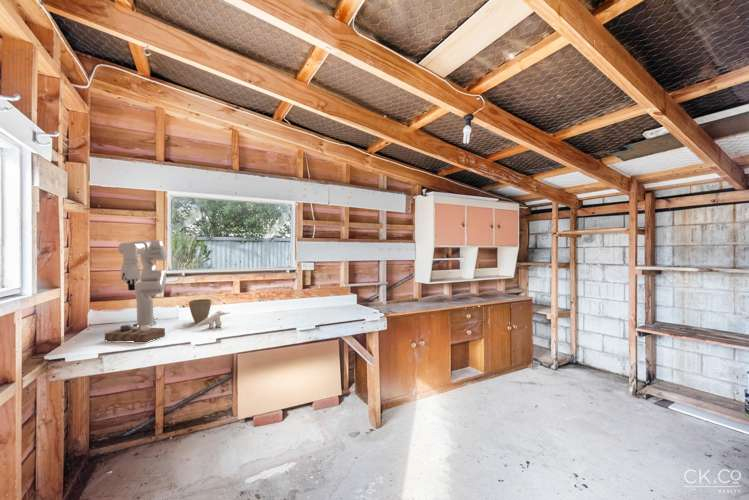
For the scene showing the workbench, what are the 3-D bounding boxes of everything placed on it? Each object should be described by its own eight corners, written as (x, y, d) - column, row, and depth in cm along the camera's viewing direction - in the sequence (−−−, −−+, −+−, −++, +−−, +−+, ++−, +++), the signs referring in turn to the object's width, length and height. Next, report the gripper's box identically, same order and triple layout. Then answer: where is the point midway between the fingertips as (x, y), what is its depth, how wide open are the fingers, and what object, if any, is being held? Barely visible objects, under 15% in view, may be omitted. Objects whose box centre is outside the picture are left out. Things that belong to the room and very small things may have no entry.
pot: (135, 329, 196) (135, 323, 196) (139, 330, 196) (139, 323, 195) (131, 331, 193) (131, 324, 193) (135, 331, 193) (135, 325, 192)
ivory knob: (145, 337, 196) (145, 324, 196) (152, 337, 196) (152, 325, 195) (138, 339, 191) (138, 326, 191) (145, 340, 191) (145, 327, 191)
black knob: (125, 336, 198) (125, 324, 198) (132, 336, 197) (132, 324, 197) (118, 339, 193) (118, 326, 193) (125, 339, 193) (125, 326, 192)
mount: (105, 341, 189) (104, 333, 189) (126, 334, 203) (125, 327, 203) (146, 343, 186) (146, 334, 185) (164, 335, 199) (164, 328, 199)
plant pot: (205, 324, 227) (204, 302, 227) (184, 324, 227) (184, 302, 226) (215, 319, 242) (215, 298, 241) (196, 319, 242) (195, 299, 241)
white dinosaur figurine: (232, 324, 224) (230, 309, 222) (194, 334, 208) (192, 318, 207) (229, 322, 229) (227, 307, 228) (192, 331, 213) (190, 316, 212)
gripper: (135, 261, 210) (136, 288, 211) (114, 262, 195) (115, 292, 196) (145, 261, 209) (146, 288, 210) (125, 262, 194) (126, 292, 195)
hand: (131, 290), depth 203 cm, fingers closed
